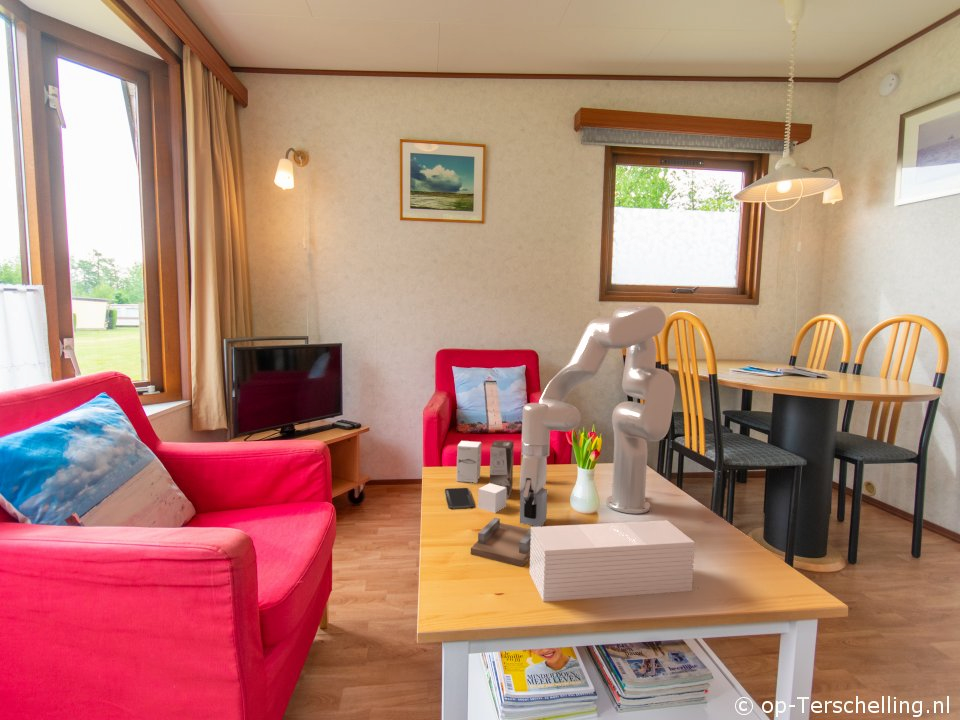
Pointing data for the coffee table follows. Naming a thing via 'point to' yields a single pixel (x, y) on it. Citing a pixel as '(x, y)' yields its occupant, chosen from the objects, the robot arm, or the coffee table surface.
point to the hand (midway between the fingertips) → (533, 513)
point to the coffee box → (502, 465)
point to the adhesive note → (492, 497)
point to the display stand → (503, 543)
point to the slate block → (540, 509)
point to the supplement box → (468, 461)
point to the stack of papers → (610, 560)
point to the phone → (459, 498)
